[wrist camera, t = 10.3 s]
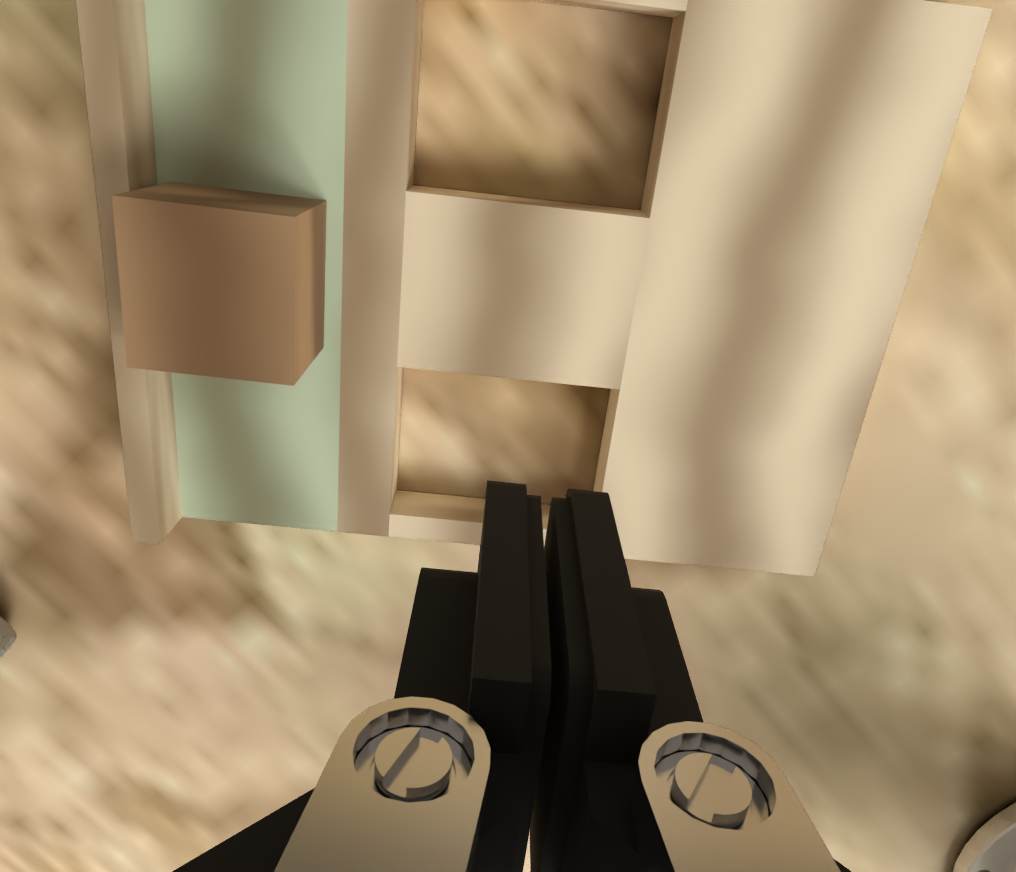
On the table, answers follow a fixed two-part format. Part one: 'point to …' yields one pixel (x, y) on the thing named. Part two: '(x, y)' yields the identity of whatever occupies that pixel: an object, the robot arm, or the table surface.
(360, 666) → the table surface
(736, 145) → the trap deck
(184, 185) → the walnut block
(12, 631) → the ceramic mug
